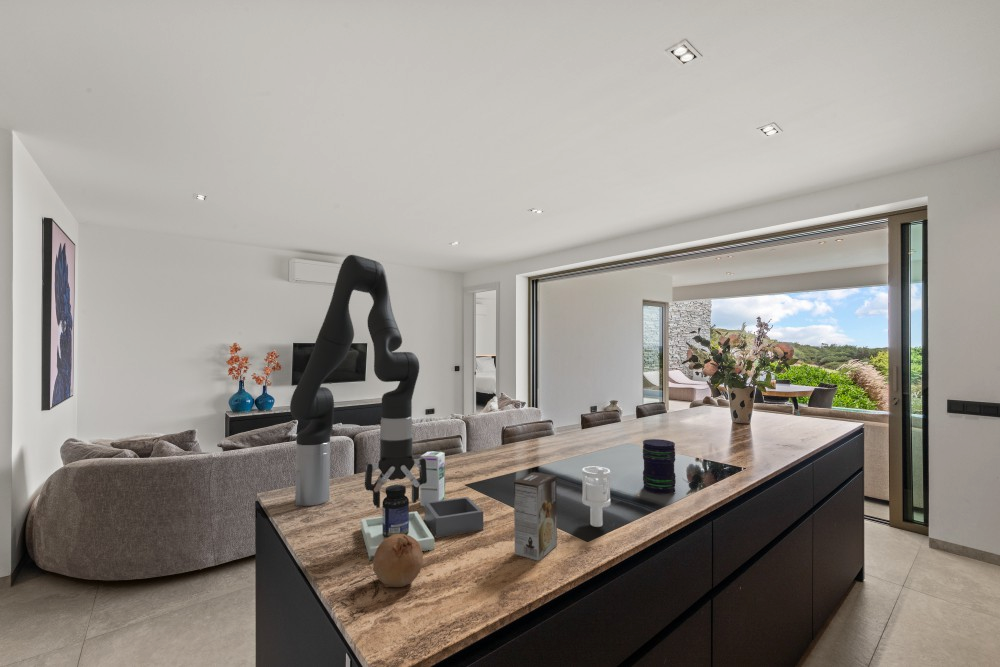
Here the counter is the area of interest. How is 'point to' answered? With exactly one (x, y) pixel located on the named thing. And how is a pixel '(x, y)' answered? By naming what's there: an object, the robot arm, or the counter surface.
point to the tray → (374, 538)
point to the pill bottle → (395, 511)
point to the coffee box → (535, 515)
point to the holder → (453, 516)
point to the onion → (398, 560)
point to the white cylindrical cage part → (596, 492)
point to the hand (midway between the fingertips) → (396, 504)
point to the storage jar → (659, 466)
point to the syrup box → (433, 478)
